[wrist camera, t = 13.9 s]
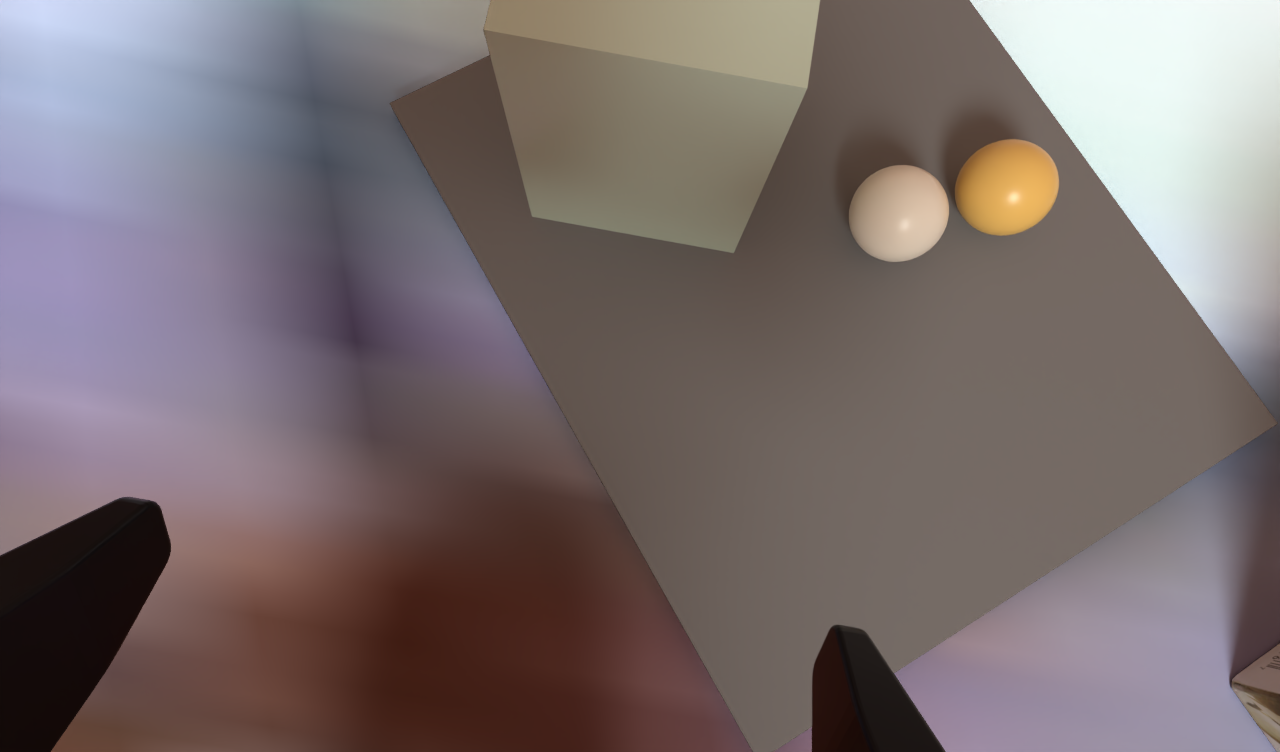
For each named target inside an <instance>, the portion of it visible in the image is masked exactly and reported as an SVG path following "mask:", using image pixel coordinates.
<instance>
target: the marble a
mask: <svg viewBox="0 0 1280 752" xmlns="http://www.w3.org/2000/svg"><path fill="white" fill-rule="evenodd" d="M948 217H949V203H948V198H947V195H946V192H945V190H944V188H943V187H942V185H941V184H940V182H939V181H938V180H937V179H936V178H935V177H934V176H933V175H931V174H930V173H929V172H927V171H925V170H923V169H921V168H918V167H915V166H910V165H895V166H890V167H886V168H883V169H881V170H879V171H877V172H875V173H874V174H872V175H870V176H869V177H868V178H867V179H866V180H865V181H864V182H863V183H862V184H861V185H860V186H859V187H858V189H857V190H856V192H855V194H854V196H853V198H852V201H851V204H850V208H849V225H850V229H851V232H852V235H853V237H854V239H855V241H856V242H857V243H858V245H859V246H860V247H861V248H862V249H863V250H864V251H865V252H866V253H868V254H869V255H871V256H873V257H875V258H877V259H880V260H883V261H888V262H902V261H908V260H911V259H914V258H917V257H919V256H921V255H923V254H924V253H926V252H927V251H929V250H930V249H931V248H932V247H933V246H934V245H935V244H936V243H937V242H938V240H939V239H940V238H941V236H942V234H943V233H944V230H945V228H946V226H947V222H948Z"/></svg>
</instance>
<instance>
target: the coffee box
mask: <svg viewBox="0 0 1280 752" xmlns="http://www.w3.org/2000/svg"><path fill="white" fill-rule="evenodd" d="M1232 689H1233V691H1234V692H1235V694H1236V695H1237V696H1238V698H1239V699H1240V701H1241V702H1242V703H1243V705H1244V706H1245V708H1246V709H1247V711H1248V712H1249V713H1250V715H1251V716H1252V718H1253V719H1254V720H1255V722H1256V723H1257V725H1258V726H1259V727H1260V729H1261V730H1262V732H1263V733H1264V734H1265V736H1266V737H1267V739H1268V740H1269V741H1270V743H1271V744H1272V746H1273V747H1274V748H1275V750H1276V751H1277V752H1280V643H1279V644H1278V645H1277V646H1275V647H1274V648H1273V649H1271V650H1270V651H1269V652H1267V653H1266V654H1264V655H1263V656H1261V657H1260V658H1259V659H1257V660H1256V661H1255V662H1253V663H1252V664H1251V665H1250V666H1248V667H1247V668H1245V669H1244V670H1243V671H1241V672H1240V673H1239V674H1237V675H1236V676H1235V677H1234V678H1233V679H1232Z"/></svg>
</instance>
